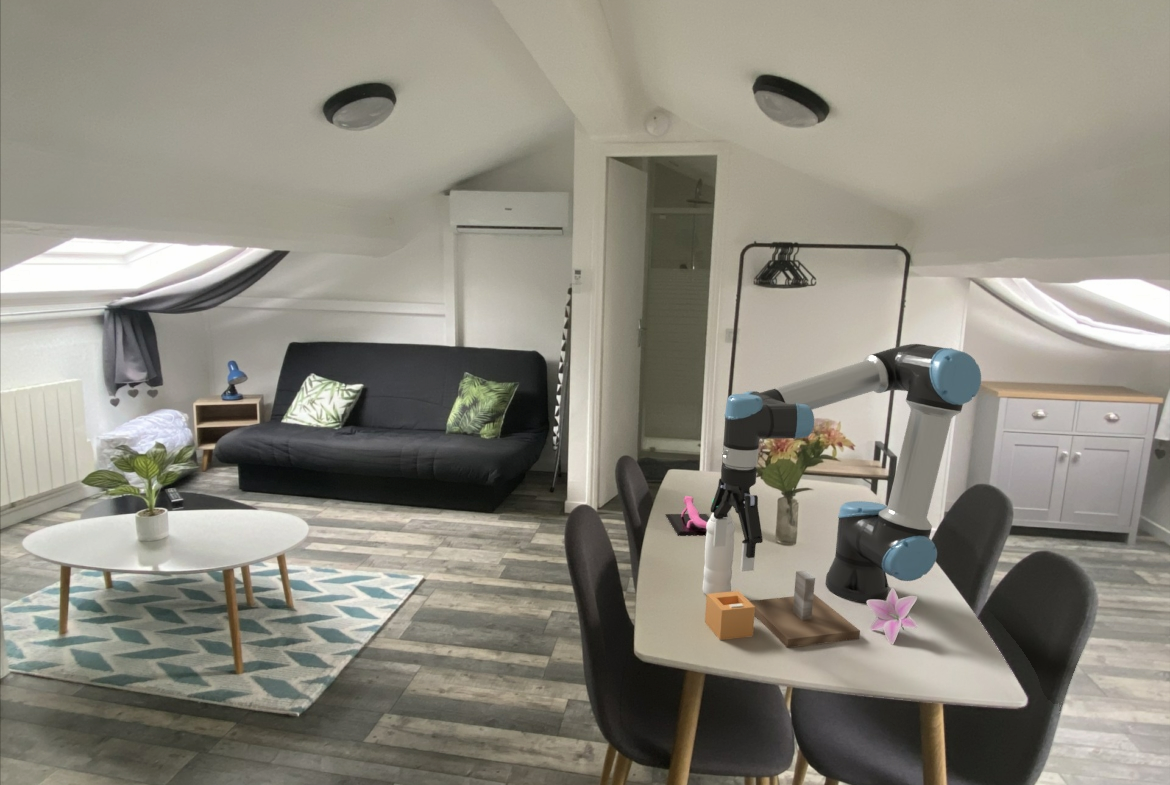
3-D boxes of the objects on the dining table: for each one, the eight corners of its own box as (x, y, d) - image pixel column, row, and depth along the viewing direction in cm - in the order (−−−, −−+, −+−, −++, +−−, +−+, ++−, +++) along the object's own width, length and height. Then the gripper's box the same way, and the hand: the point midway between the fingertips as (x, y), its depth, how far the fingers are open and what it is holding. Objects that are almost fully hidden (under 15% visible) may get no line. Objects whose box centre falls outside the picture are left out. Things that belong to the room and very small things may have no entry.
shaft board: (813, 601, 172) (817, 556, 170) (859, 638, 154) (864, 588, 152) (747, 608, 167) (751, 561, 165) (787, 647, 150) (791, 595, 148)
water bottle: (709, 601, 170) (715, 504, 166) (697, 588, 177) (703, 494, 173) (735, 598, 172) (742, 502, 168) (722, 586, 179) (728, 493, 175)
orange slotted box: (736, 618, 162) (738, 589, 161) (752, 636, 154) (755, 605, 153) (704, 622, 160) (706, 592, 159) (719, 639, 152) (721, 609, 151)
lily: (863, 620, 165) (854, 592, 161) (912, 605, 164) (905, 577, 159) (883, 660, 155) (875, 632, 150) (936, 645, 153) (929, 616, 149)
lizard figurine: (706, 515, 234) (707, 494, 232) (724, 537, 214) (725, 514, 213) (664, 515, 232) (665, 494, 231) (677, 537, 212) (679, 515, 211)
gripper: (700, 451, 162) (694, 537, 165) (751, 483, 138) (743, 583, 141) (729, 450, 163) (723, 535, 167) (784, 481, 140) (776, 580, 143)
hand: (732, 557), depth 154 cm, fingers open, 13 cm apart
